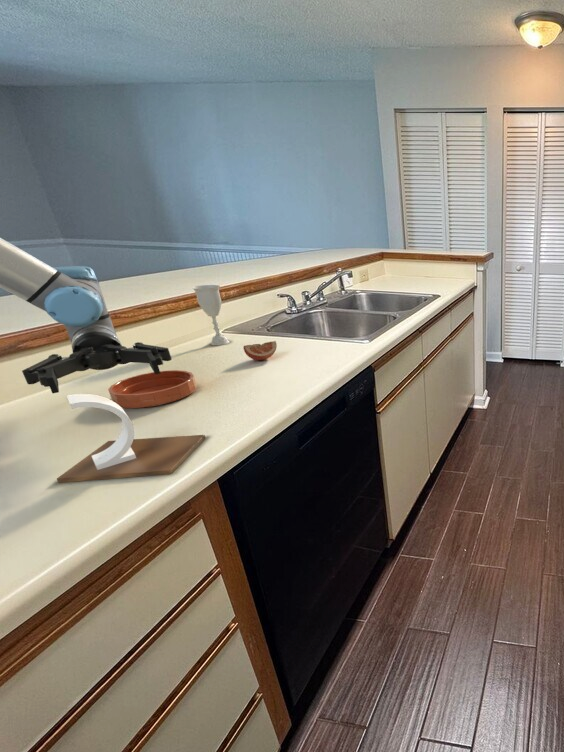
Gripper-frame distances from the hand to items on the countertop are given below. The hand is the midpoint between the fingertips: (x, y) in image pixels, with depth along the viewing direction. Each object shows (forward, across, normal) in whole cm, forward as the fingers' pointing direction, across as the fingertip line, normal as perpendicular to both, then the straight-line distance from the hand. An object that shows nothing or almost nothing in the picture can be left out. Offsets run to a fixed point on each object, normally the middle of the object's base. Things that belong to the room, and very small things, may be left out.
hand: (107, 375), depth 75 cm
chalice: (-59, -28, -13) cm, 67 cm away
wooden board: (+9, 0, -13) cm, 16 cm away
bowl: (-22, -7, -13) cm, 26 cm away
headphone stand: (+8, +2, -12) cm, 15 cm away
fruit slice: (-33, -33, -13) cm, 48 cm away
